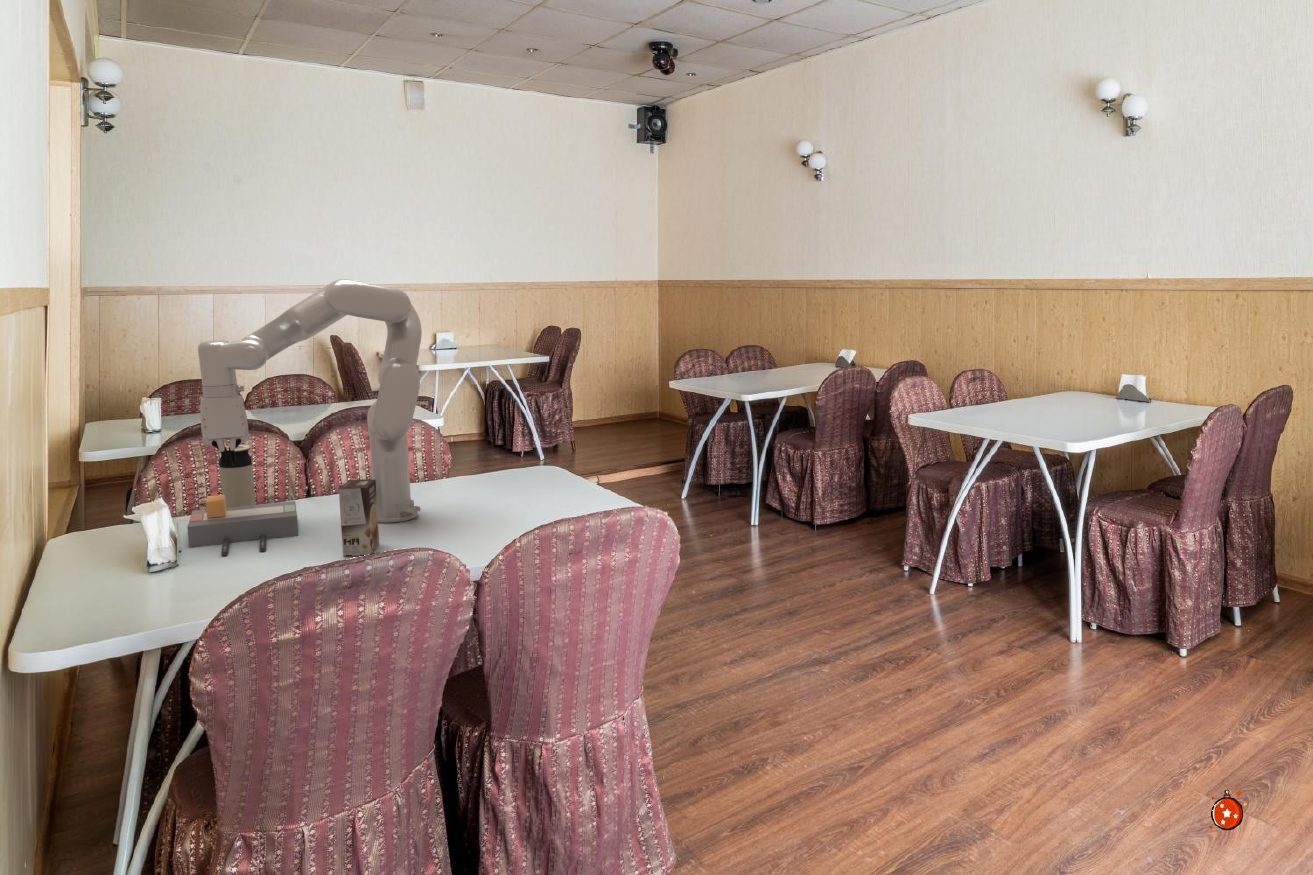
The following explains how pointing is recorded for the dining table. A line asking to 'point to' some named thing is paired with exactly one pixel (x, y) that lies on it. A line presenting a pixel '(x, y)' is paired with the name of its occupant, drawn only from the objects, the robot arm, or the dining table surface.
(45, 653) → the dining table surface
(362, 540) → the coffee box
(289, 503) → the box
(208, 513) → the knob
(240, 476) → the travel mug
